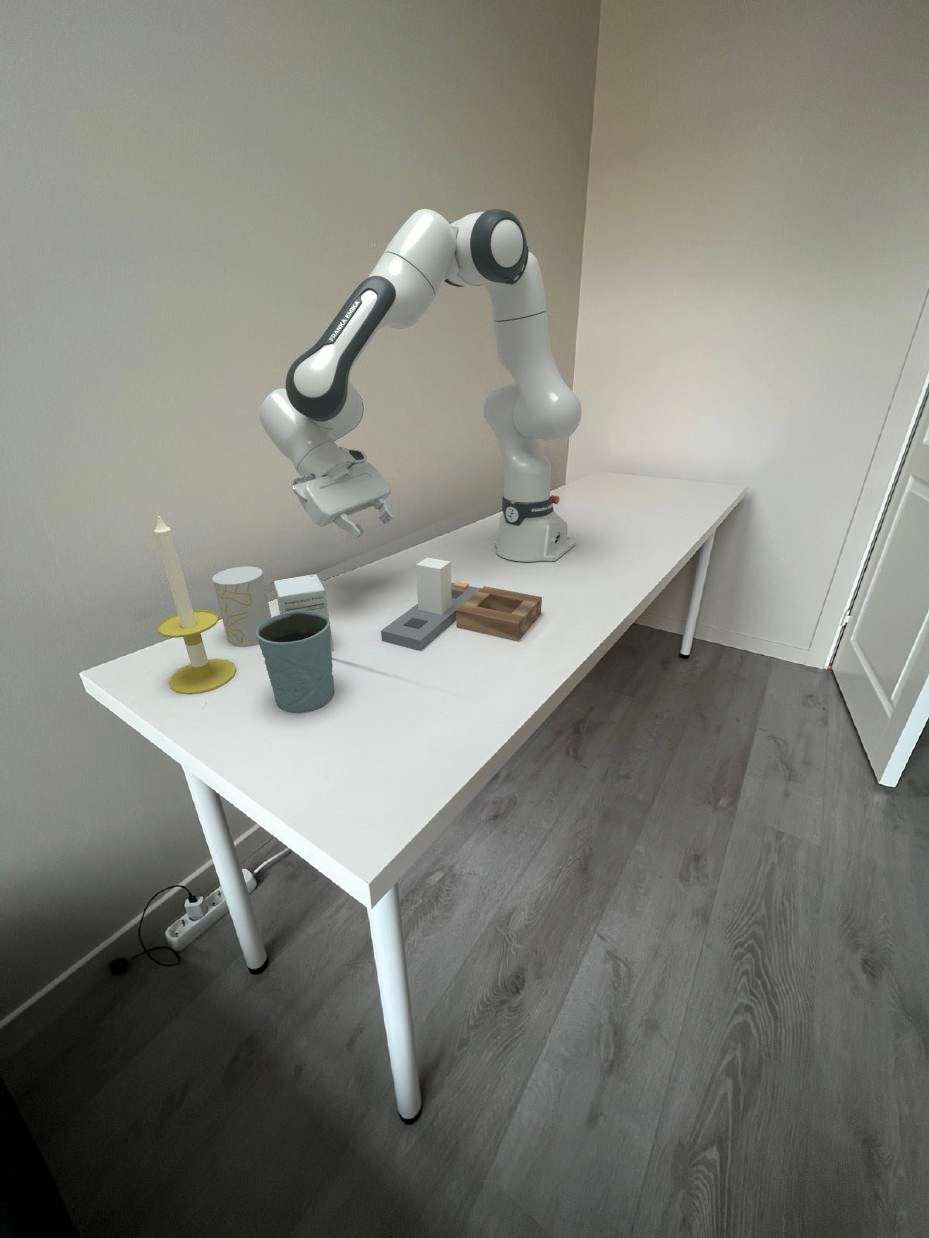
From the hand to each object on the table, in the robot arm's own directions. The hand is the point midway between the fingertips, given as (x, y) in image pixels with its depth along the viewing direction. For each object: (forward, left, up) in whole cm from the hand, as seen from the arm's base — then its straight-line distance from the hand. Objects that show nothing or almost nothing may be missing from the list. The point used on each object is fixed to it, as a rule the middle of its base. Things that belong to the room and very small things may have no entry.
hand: (375, 528), depth 99 cm
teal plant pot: (+27, +14, -17) cm, 35 cm away
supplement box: (+19, +3, -17) cm, 26 cm away
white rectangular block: (-3, +12, -16) cm, 20 cm away
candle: (+35, -3, -17) cm, 39 cm away
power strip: (-3, +12, -17) cm, 21 cm away
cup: (+23, -10, -17) cm, 30 cm away
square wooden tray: (-10, +22, -17) cm, 30 cm away
